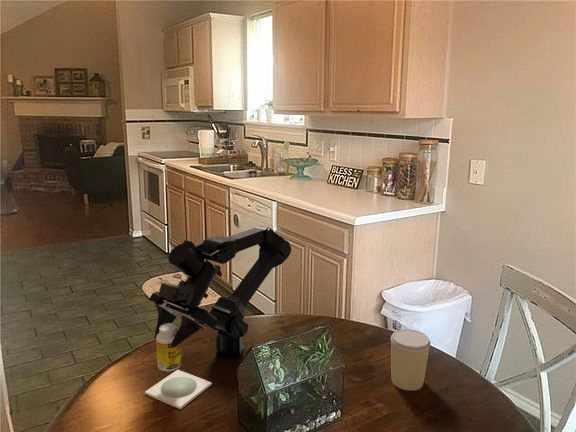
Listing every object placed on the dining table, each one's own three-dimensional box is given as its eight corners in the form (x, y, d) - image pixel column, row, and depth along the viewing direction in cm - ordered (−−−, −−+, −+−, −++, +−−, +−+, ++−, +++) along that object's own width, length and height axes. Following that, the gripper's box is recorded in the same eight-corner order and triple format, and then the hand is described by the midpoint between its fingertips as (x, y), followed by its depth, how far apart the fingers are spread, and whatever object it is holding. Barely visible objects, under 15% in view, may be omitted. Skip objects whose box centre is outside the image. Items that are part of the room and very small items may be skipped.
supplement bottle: (168, 375, 109) (166, 335, 106) (152, 367, 112) (150, 328, 109) (186, 364, 113) (185, 325, 111) (170, 356, 116) (168, 319, 114)
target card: (177, 371, 120) (177, 369, 120) (211, 384, 115) (211, 382, 115) (145, 394, 111) (144, 391, 111) (180, 409, 105) (180, 406, 105)
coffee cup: (429, 376, 119) (433, 333, 116) (423, 396, 111) (427, 350, 108) (392, 367, 123) (395, 325, 120) (383, 386, 115) (386, 341, 112)
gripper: (152, 260, 115) (116, 318, 109) (205, 278, 104) (169, 343, 98) (179, 280, 123) (147, 335, 117) (231, 298, 112) (199, 360, 107)
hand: (163, 343), depth 110 cm, fingers closed on supplement bottle, 5 cm apart
